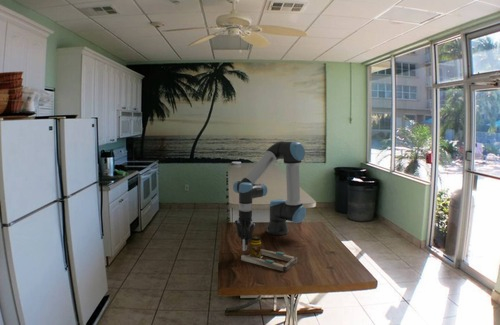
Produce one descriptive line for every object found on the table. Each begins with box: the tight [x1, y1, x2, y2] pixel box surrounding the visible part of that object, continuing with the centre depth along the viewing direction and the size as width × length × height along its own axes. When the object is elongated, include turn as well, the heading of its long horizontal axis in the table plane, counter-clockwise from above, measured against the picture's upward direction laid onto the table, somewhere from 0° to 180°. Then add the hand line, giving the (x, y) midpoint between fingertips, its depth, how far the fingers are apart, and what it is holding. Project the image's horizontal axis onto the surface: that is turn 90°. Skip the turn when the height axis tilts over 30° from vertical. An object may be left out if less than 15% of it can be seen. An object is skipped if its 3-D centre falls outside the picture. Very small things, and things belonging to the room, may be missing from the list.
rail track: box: [240, 248, 298, 273], centre depth 176 cm, size 15×27×3 cm, turn 59°
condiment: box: [247, 235, 265, 259], centre depth 180 cm, size 7×8×12 cm
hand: (244, 249), depth 184 cm, fingers closed
